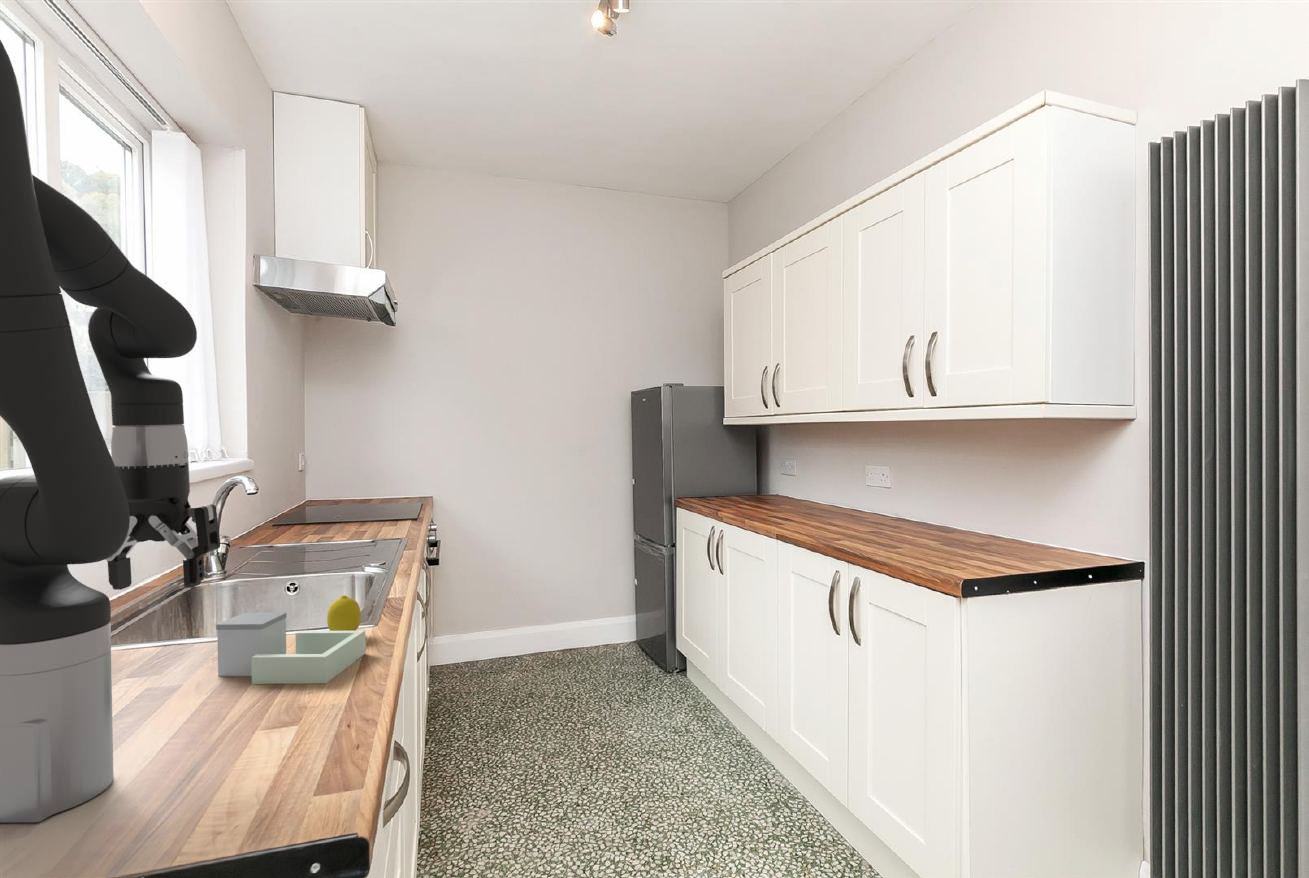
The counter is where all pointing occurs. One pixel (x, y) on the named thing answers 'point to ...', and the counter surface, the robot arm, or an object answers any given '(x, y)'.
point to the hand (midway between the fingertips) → (158, 587)
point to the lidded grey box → (249, 641)
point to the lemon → (344, 615)
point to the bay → (310, 658)
